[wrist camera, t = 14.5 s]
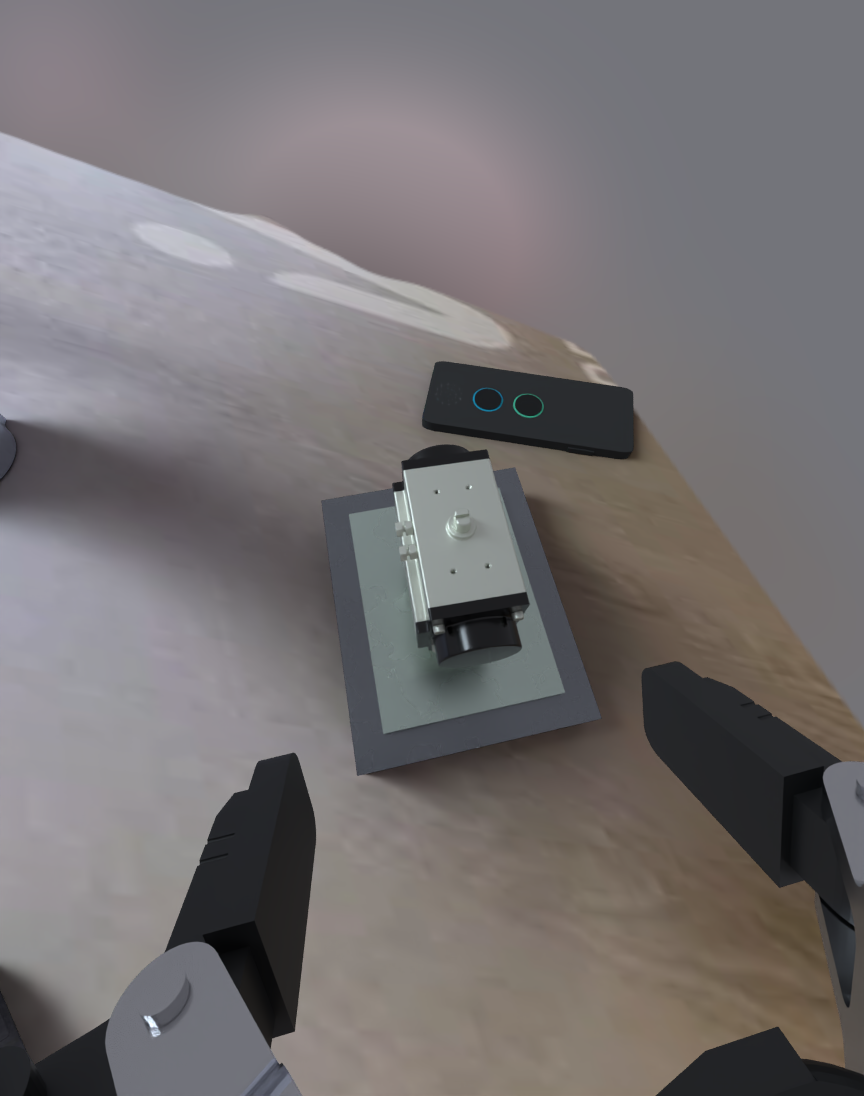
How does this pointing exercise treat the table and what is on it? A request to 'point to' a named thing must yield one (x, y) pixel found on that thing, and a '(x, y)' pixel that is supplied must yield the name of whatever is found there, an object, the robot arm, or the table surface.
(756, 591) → the table surface
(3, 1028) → the mini dv tape
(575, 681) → the grey picture frame
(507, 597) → the pneumatic valve
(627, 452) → the smart home device
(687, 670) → the robot arm
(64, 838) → the table surface
